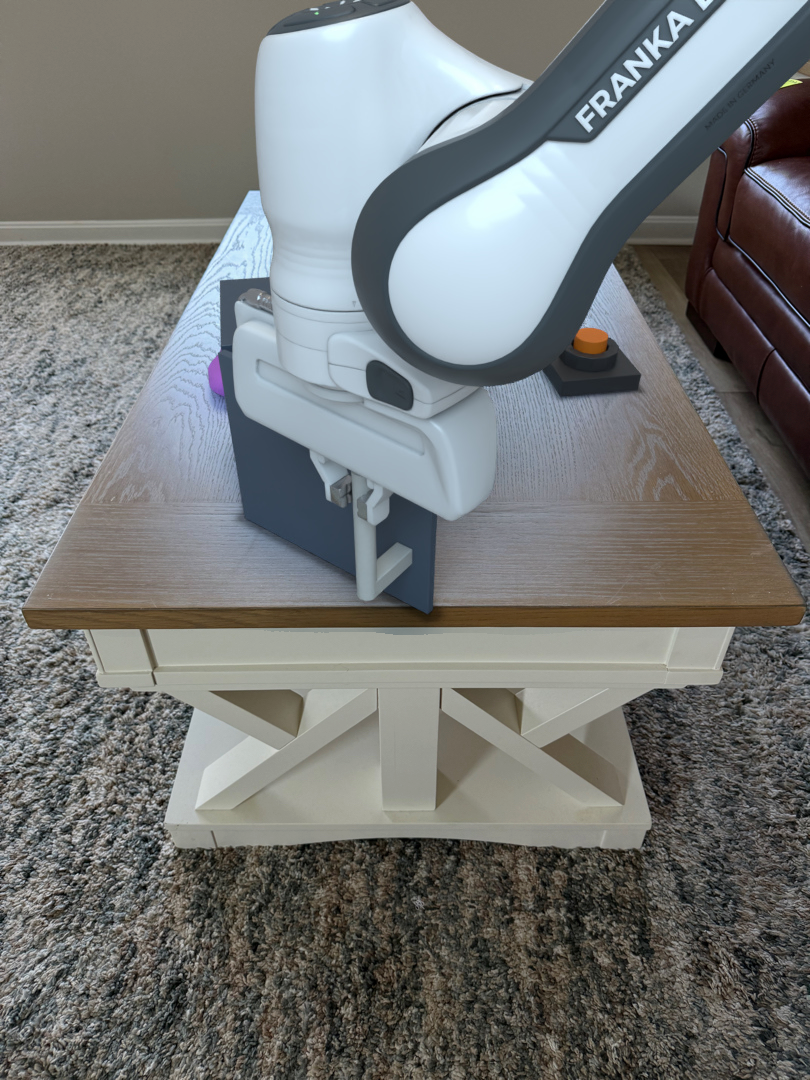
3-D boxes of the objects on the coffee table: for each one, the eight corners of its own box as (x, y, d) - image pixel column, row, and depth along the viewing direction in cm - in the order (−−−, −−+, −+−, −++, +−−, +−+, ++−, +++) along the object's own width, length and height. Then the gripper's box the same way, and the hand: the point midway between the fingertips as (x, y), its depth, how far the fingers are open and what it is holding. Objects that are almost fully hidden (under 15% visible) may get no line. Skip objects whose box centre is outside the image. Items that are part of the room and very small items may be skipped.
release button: (598, 339, 99) (601, 326, 98) (610, 354, 96) (613, 340, 95) (568, 341, 98) (570, 328, 97) (579, 356, 95) (582, 343, 94)
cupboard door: (386, 656, 63) (384, 479, 52) (199, 548, 73) (162, 380, 62) (433, 609, 68) (440, 435, 56) (250, 513, 77) (224, 349, 66)
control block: (607, 352, 104) (613, 324, 101) (638, 390, 96) (644, 360, 94) (535, 358, 102) (538, 330, 100) (560, 397, 95) (564, 367, 92)
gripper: (195, 296, 50) (226, 473, 59) (453, 405, 40) (442, 598, 49) (269, 266, 53) (287, 437, 62) (521, 360, 44) (500, 546, 53)
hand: (357, 509), depth 56 cm, fingers closed on cupboard door, 2 cm apart
